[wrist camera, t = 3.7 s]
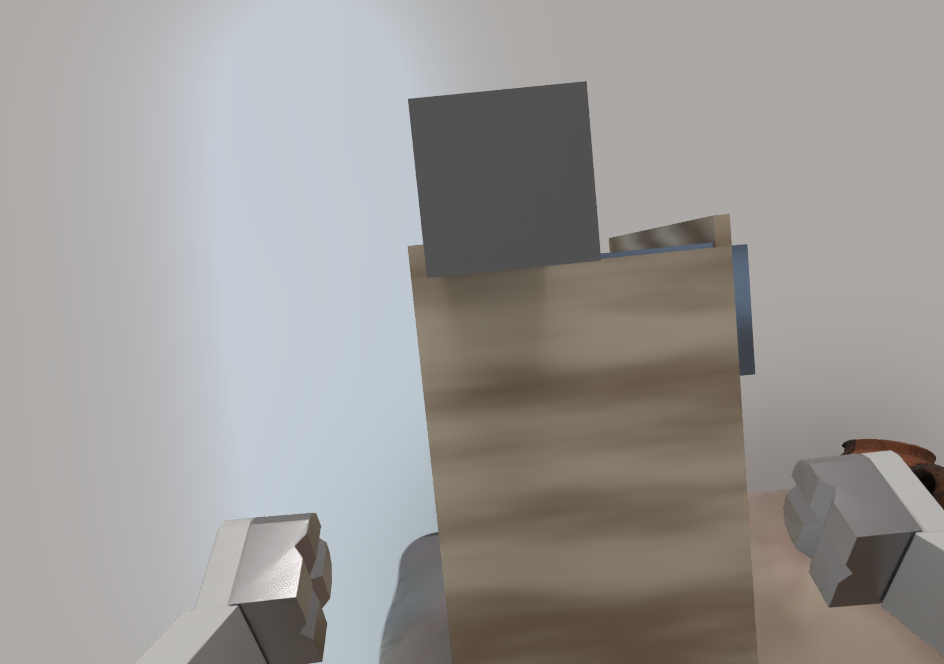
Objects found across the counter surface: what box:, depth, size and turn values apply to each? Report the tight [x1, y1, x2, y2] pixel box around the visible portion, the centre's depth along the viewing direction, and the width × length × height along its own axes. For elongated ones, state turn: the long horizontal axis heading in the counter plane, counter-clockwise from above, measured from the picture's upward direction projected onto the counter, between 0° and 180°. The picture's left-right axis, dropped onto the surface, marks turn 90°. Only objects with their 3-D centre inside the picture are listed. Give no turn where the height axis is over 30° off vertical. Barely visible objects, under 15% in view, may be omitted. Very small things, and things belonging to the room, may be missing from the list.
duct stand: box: [408, 214, 758, 664], centre depth 35 cm, size 18×13×27 cm
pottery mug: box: [842, 439, 944, 510], centre depth 60 cm, size 12×10×8 cm
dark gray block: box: [408, 81, 601, 278], centre depth 28 cm, size 26×4×4 cm, turn 1°
